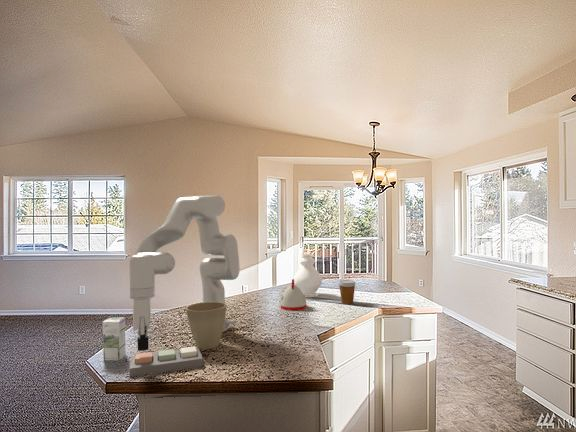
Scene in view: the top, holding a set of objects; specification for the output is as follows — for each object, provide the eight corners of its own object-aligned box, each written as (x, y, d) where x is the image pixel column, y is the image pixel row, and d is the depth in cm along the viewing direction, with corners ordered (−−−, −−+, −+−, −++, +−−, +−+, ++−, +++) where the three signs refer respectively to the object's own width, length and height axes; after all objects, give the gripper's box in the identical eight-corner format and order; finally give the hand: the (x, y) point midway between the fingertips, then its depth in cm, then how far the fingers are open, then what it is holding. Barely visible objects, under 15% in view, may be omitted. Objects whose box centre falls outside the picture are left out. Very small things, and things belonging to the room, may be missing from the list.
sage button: (174, 356, 130) (174, 349, 130) (175, 361, 126) (174, 353, 126) (158, 358, 129) (158, 351, 129) (158, 363, 124) (158, 356, 124)
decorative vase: (327, 293, 241) (326, 254, 241) (313, 299, 226) (312, 256, 226) (302, 291, 251) (301, 253, 251) (288, 296, 236) (287, 255, 236)
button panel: (198, 356, 136) (198, 346, 136) (202, 369, 125) (202, 358, 125) (132, 366, 129) (131, 355, 129) (129, 380, 118) (129, 368, 118)
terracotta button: (152, 359, 128) (152, 351, 128) (152, 364, 123) (152, 356, 123) (136, 361, 126) (136, 353, 126) (135, 367, 122) (135, 359, 122)
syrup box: (126, 357, 138) (125, 316, 138) (119, 363, 132) (118, 321, 132) (110, 357, 138) (109, 317, 138) (102, 363, 132) (101, 321, 132)
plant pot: (210, 339, 156) (209, 300, 156) (235, 346, 146) (234, 304, 146) (178, 349, 144) (177, 307, 144) (204, 358, 135) (203, 312, 135)
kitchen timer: (307, 304, 214) (306, 277, 214) (305, 310, 200) (305, 281, 200) (282, 304, 215) (281, 277, 215) (279, 310, 201) (278, 281, 201)
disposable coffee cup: (357, 304, 210) (356, 282, 210) (339, 305, 210) (339, 283, 210) (354, 300, 220) (354, 279, 220) (337, 301, 220) (337, 280, 220)
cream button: (195, 353, 133) (195, 346, 133) (196, 358, 128) (196, 351, 128) (180, 355, 131) (180, 348, 131) (181, 360, 126) (181, 353, 126)
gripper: (131, 289, 131) (132, 344, 130) (128, 297, 117) (129, 358, 116) (154, 288, 133) (155, 341, 133) (154, 295, 119) (155, 355, 119)
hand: (143, 349), depth 125 cm, fingers closed
